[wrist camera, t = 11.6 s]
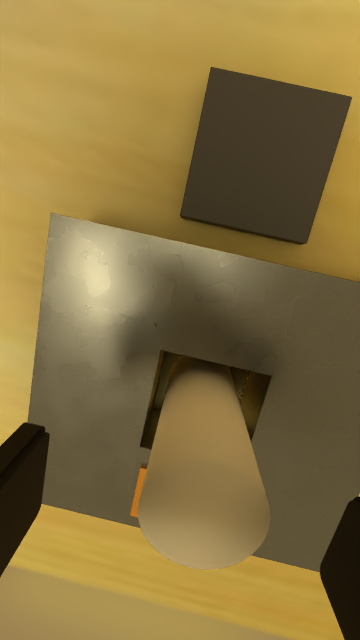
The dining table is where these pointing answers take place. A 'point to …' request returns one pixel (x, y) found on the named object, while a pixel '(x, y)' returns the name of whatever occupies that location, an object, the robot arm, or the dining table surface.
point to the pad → (262, 155)
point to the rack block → (203, 343)
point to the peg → (203, 473)
